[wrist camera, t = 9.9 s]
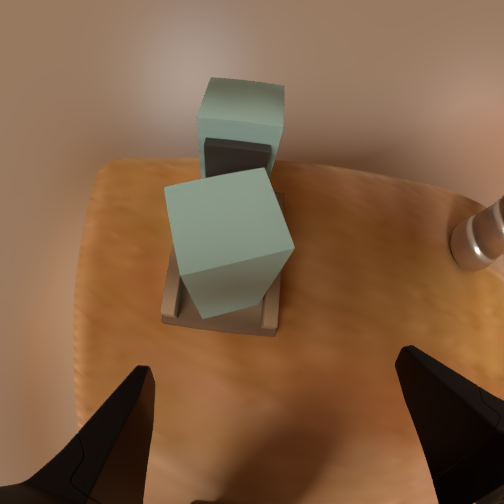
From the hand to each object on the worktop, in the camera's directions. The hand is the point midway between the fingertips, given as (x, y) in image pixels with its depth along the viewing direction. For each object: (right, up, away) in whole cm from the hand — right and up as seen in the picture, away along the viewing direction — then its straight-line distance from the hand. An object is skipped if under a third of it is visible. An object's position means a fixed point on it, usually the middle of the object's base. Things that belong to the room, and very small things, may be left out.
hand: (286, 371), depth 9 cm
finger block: (-3, +1, +14) cm, 14 cm away
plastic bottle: (+25, +4, +19) cm, 32 cm away
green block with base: (-3, +4, +16) cm, 16 cm away
